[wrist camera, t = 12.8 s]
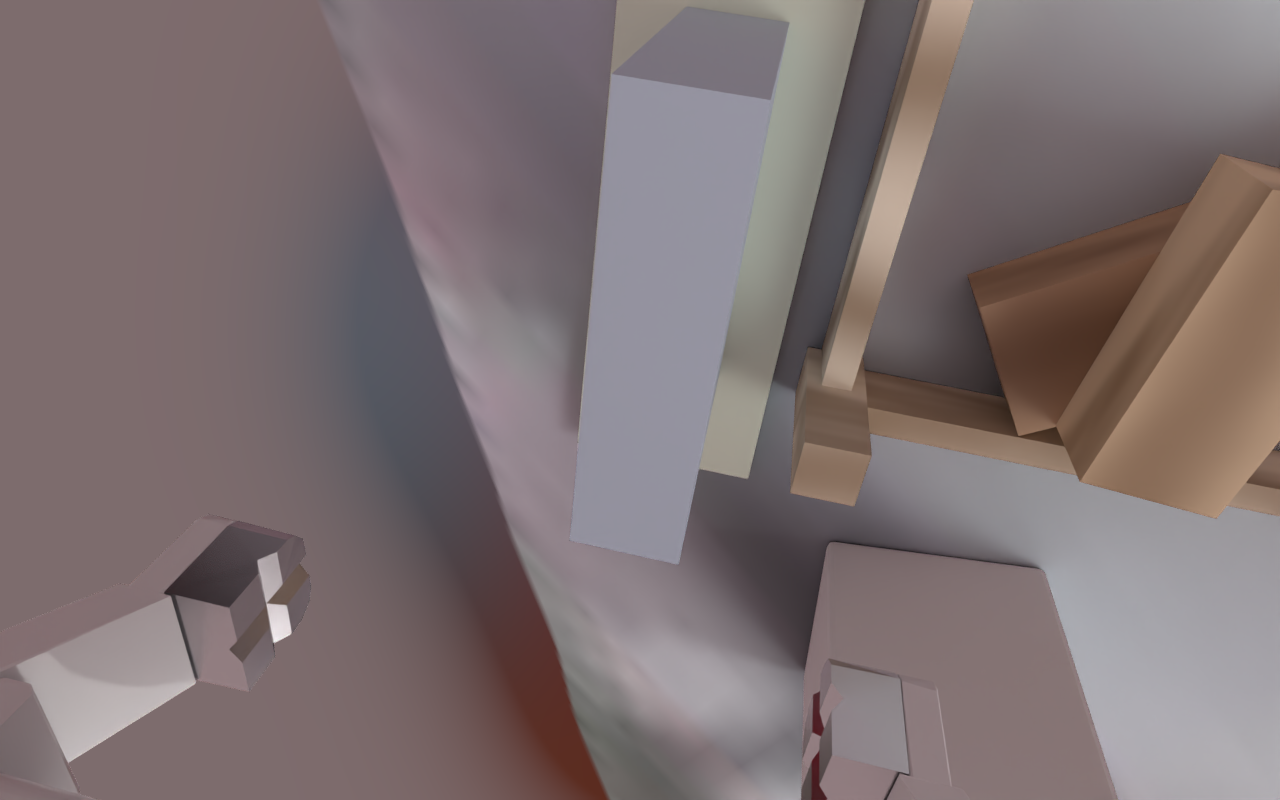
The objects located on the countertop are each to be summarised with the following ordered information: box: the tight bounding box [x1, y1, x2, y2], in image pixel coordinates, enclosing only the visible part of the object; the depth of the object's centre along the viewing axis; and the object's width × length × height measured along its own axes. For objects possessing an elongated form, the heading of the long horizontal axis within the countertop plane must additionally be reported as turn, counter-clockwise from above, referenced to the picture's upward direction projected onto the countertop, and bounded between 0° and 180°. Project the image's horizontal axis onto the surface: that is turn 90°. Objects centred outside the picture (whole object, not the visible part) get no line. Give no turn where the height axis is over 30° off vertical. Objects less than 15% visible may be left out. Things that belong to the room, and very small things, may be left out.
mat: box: [577, 0, 865, 479], centre depth 27 cm, size 19×7×1 cm, turn 173°
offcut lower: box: [968, 202, 1191, 436], centre depth 25 cm, size 5×11×3 cm, turn 116°
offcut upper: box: [1056, 154, 1280, 519], centre depth 22 cm, size 4×9×3 cm, turn 169°
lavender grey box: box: [570, 7, 790, 565], centre depth 22 cm, size 3×12×10 cm, turn 173°
